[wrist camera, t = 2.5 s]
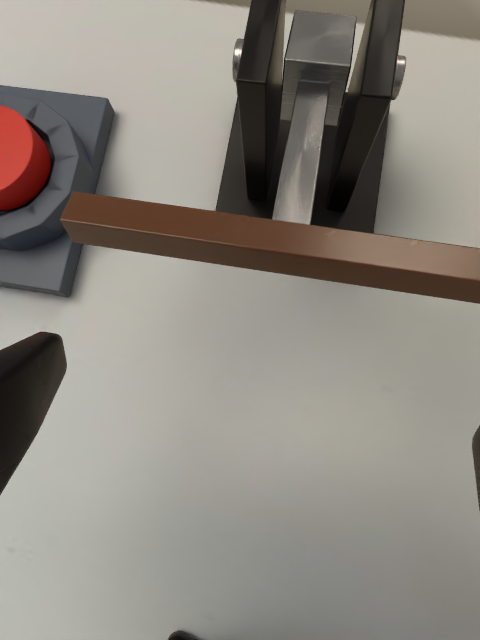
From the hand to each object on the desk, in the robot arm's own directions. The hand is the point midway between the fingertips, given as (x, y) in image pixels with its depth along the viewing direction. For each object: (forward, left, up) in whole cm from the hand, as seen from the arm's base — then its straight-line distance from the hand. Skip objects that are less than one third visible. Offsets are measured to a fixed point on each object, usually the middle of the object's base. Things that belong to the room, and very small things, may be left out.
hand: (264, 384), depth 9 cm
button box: (+5, +16, -13) cm, 21 cm away
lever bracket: (+11, +3, -13) cm, 18 cm away
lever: (+8, +2, -5) cm, 9 cm away
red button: (+5, +16, -10) cm, 20 cm away
